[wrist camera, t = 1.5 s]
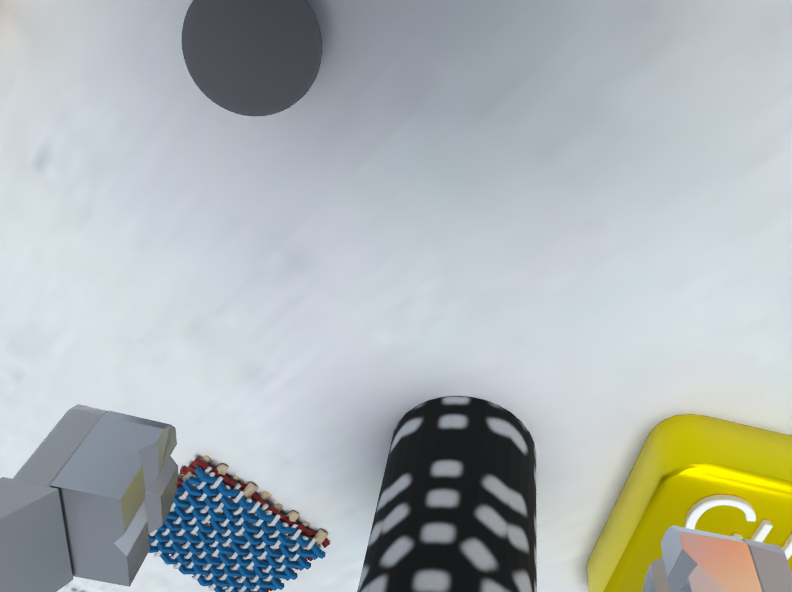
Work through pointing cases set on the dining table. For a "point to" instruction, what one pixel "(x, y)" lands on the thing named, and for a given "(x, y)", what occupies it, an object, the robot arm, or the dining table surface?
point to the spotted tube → (455, 503)
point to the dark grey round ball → (252, 52)
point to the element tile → (695, 495)
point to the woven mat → (232, 533)
